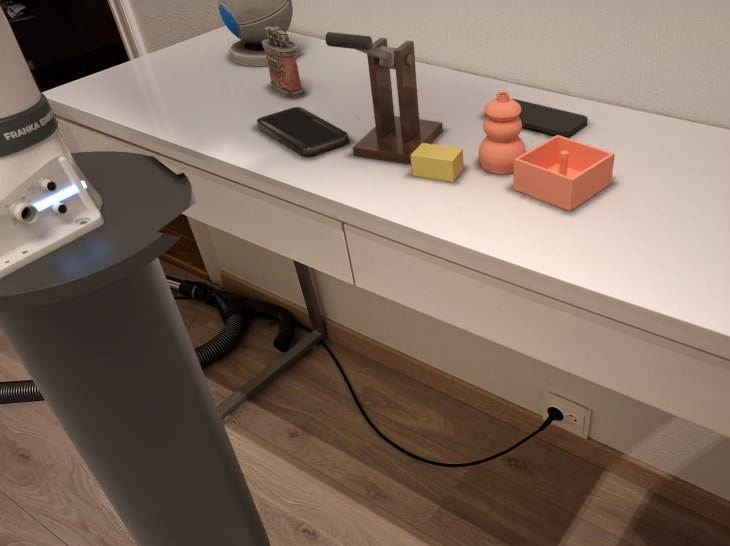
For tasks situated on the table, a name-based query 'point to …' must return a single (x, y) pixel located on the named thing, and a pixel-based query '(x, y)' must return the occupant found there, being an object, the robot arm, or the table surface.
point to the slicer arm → (362, 47)
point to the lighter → (282, 63)
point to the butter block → (437, 162)
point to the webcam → (254, 26)
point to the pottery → (542, 159)
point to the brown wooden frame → (392, 132)
